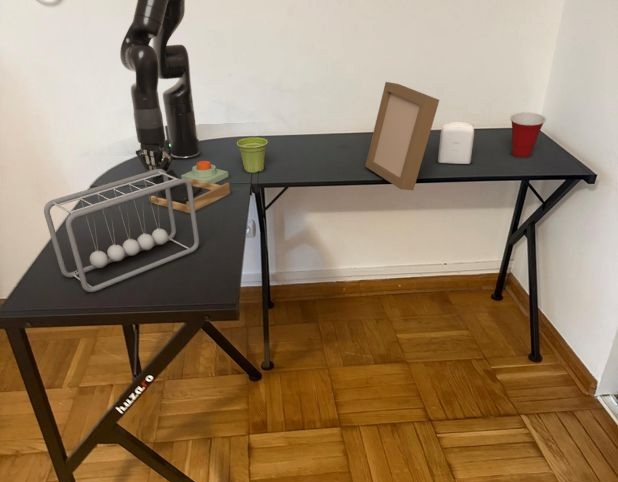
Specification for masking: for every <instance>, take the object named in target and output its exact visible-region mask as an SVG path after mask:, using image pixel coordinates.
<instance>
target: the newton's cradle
mask: <svg viewBox="0 0 618 482" xmlns="http://www.w3.org/2000/svg"><path fill="white" fill-rule="evenodd" d="M159 175H162V176H163V180H164V182H163V183H160V184H157V185H156V184H155V185H154V183H153V182H152V181H149V179H153V178H152V177H155V176H159ZM168 177H170V178H172V179H173V180H170V181H169V180H168ZM141 181H143V182H144V185H145V188H142V189H141V188H139V187H137V186H135V185H133V184H135V183H139V182H141ZM147 182H148V183H151V184H153V185H151V186H147ZM181 184H185V186H187V192H188V199H189V206H190V213H189V214H190V219H191V226H192V233H193V241H194V243H193V245H192V246H190V247H188V246H186V245H184V244H182V243H181V242H178V241H176V240H175V239H174V238H175V236H176V235H177V226H176V220H175V213H174V209H173V206H172V199H171V193H170V188H171V187H174V186H178V185H181ZM125 186H129V189H130V192H128V193H124V192H122V191H119V190H118V189H119V188H122V187H125ZM132 187H134V188H136V189H137V190H135V191H132ZM162 190H165V192H166V198H167V205H168V207H167V211H168V218H169V222H170V230H171V231H170V234H168V232H167V231H166V230H165V229H163V228H161V226H160V222H158V223H157V219H156V217H155V216H156V215H155V212H154V209H153V205H152V204H153V203H151V196H150V195H152V194H156V197H157V203H158V197H159V192H160V191H162ZM109 191H113V192H114V193H113V194H114V196H115V197H112V198H107V197H105V196H104V195H101V194H103V193H106V192H109ZM116 192H118V193H121V194H122V195H119V196H117V194H116ZM95 195H96V196H97V198H98V201H99V202H96V203H93V204H92V203H90V202H88V201H87V200H84V199H86V198H89V197H92V196H95ZM100 196H101V197H103V199H105V200H102V201H101V199H100ZM146 196H148V199H149V203H150V207H151V210H152V213H153V218H154V222H155V224H156V229H154V230H153V231H152V233H151V234H149V233H146V232H145V231H146V223H145V220H143V225H142V222H141V219H140V215H139V212H138V208H137V205H136V202H135V200H136V199H141V204H142V205H141V206H144V197H146ZM166 198H165V199H166ZM194 198H195V197H193V191H192V185H191V183H190V181H189V180H187V179H184V178H183V179H182V178H179V179H177V178H175V177H172V176H170V175H167V171H164V170H162V169H156V170H152V171H150V170H148V171H147V172H143V173H139V174H135V175H133V176H129V177H126V178H122V179H119V180H116V181H115V180H114V181H112V182H109V183H105V184H101V185H98V186H95V187H92V188H88V189H84V190H82V191H78V192H75V193H71V194H68V195H65V196H61V197H57V198H54V199H52V200H50V201H48V202H47V203H46V204H45V205H44V207H43V214H44V218H45V221H46V225H47V227H48V228H47V229H48V232H49V235H50V238H51V243H52V246H53V249H54V252H55V256H56V259H57V262H58V266H59V269H60V272H61V274H62V275H63V276H64V277H66V278H69V279H70V278H71V279H72V278H76V279H77V280H78V281H80V284H81V287H82V289H83V290H84V291H85V292H87V293H96V292H98V291H100V290H103V289H105V288H108V287H110V286H112V285H115V284H117V283H120V282H123V281H125V280H127V279H130V278H133V277H135V276H137V275H141V274H142V273H143V274H144V273H145V272H147V271H150V270H153V269H155V268H157V267H160V266H163V265H165V264H167V263H170V262H172V261H174V260H177V259H180V258H182V257H184V256H187V255H189V254H192V253H194V252H196V251H197V250H198V248H199V246H200V237H199V229H198V221H197V214H196V211H195V206H194ZM79 200H80V202H81V206H82V207H81V208H77V209H74V210H69V209H67V208H65V207H64V206H62V205H66V204H69V203H72V202H76V201H79ZM131 201H133V203H134V208H135V211H136V215H137V217H138V220H139V224H140V228H141V231H142V234H140V235H139V236H138V237H137V240H136V239H134V238H131V236H129V235H131V228H130V226H128V230H127V228H126V227H127V226H126V224H125V221H124V217H123V213H122V210H121V207H120V205H121V204H125V205H126V214H127V215H129V209H128V202H131ZM83 202H85V203H87V204H89V205H87V206H84V203H83ZM55 206H56V207H57V208H59V209H61V210H62V211H64V212H66V213H68V216H67V218H66V219H65V229H66V232H67V236H68V240H69V244H70V248H71V252H72V254H73V258H74V262H75V265H76V266H75V267H76V270H73V271H71V272H69V271H67V267H66V264H65V261H64V257H63V254H62V250H61V247H60V243H59V239H58V235H57V233H56V229H55V225H54V222H53V219H52V214H51V209H52V208H53V207H55ZM115 206H117V207H118V209H119V212H120V216H121V220H122V222H123V226H124V229H125V232H126V236H127V239H126V240H125V241H124V242H123V243H122V246H121V245H120V244H116V238H115V237H116V236H115V229H114V220H113V213H112V207H115ZM108 208H110V210H109V211H110V218H111V223H112V224H111V225H112V233H111V231H110V228H109V225H108V221H107V218H106V214H105V212H104V210H106V209H108ZM159 209H160V208H159V206H157V216H158V220H160V210H159ZM100 211H102V214H103V217H104V220H105V223H106V227H107V230H108V232H109V236H110V239H111V242H112V244H111V245H110V246H109V247H108V248H107V251H106V252H107V253H106V252H104V251H102V250H99V246H98V244H99V243H98V235H97V227H96V219H95V217H96V216H95V213H97V212H100ZM90 214H92V215H93V224H94V232H95V239H94V237H93V234H92V230H91V226H90V224H89V220H88V217H87V215H90ZM84 216H85V218H86V219H85V220H86V222H87V225H88V229H89V232H90V236H91V240H92V242H93V246H94V250H95V251H93V252H92V253H90V256H89V262H90V265H87V266H85V267H84V266H83V263H82V258H81V255H80V252H79V247H78V244H77V240H76V236H75V233H74V228H73V222H74V220H75V219H77V218H81V217H84ZM142 216H143V217H142V218H143V219H145V210H144V207H142ZM129 217H130V216H127V223H128V225H130V218H129ZM128 233H129V234H128ZM111 234H113V237H112V235H111ZM170 241H171V242H174V243H175V244H177V245H179V246H181V247H182V248H185V249H184V250H182V251H179V252H175V253H174V254H171V255H169V256H167V257H164V258H161V259H158V260H156V261H155V262H152V263H149V264H146V265H143V266H141V267H139V268H136V269H133V270H132V271H129V272H126V273H124V274H121V275H119V276H116V277H114V278H112V279H109V280H106V281H104V282H101V283H99V284H96V285H93V286H92V285H91V284H89V283H88V281H87V278H86V273H88V272H91V271H94V270H97V269H102V268H105V267H106V266H107V265H109V264H113V263H115V262H120V261H122V260H124V259H125V258H128V257H134V256H137V255H138V253H141V252H143V251H150V250H151V249H152V248H153V247H157V246H162V245H165V244H166V243H167V242H170ZM95 242H96V243H95ZM77 271H78V272H77ZM75 272H76V273H75Z"/></svg>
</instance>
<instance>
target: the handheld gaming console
mask: <svg viewBox="0 0 618 482" xmlns="http://www.w3.org/2000/svg"><path fill="white" fill-rule="evenodd" d="M166 173H167V175H170V176H172V177H175V178H177V179H180V177H179V176H178V175H177V174H176V173H175V171H174V170H173V169H170V170H167V171H166ZM168 180H169V181H170V180H173V179H172V178H170V177H168ZM163 182H164V180H163V176H161V177H160V178H159V179H157V180H156V181H154V182H153V181H152V184H153V183H154V184H153V186H154V185H155V184H156V185H157V184H160V183H163ZM202 189H203V188H201V187H196V186H192V191H193V198H195V197H197V195H198V194H199V193H200V192H202ZM159 192H160V194H161V195H162V197H163V198H164V199H167V198H166V192H165V190H162V191H159ZM170 193H171V199H172V201H174V202H178V203H182V204H186V202H188V201H189V199H188V192H187V186H186V184H181V185H178V186H174V187H171V188H170Z"/></svg>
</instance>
